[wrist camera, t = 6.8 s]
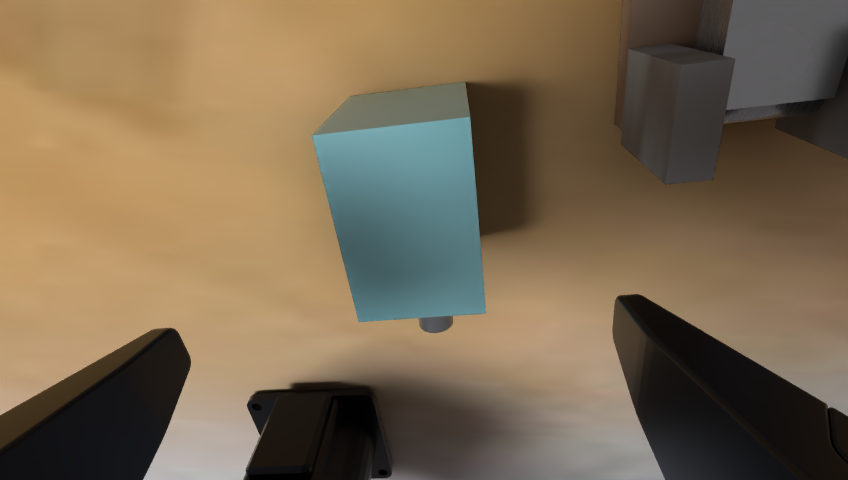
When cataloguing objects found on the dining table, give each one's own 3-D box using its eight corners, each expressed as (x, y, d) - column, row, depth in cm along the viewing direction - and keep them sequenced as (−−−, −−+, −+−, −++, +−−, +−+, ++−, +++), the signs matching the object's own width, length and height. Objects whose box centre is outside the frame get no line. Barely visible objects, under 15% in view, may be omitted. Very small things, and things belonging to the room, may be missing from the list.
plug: (482, 296, 20) (491, 384, 15) (392, 303, 20) (375, 390, 16) (465, 81, 15) (470, 116, 11) (350, 95, 16) (311, 135, 11)
